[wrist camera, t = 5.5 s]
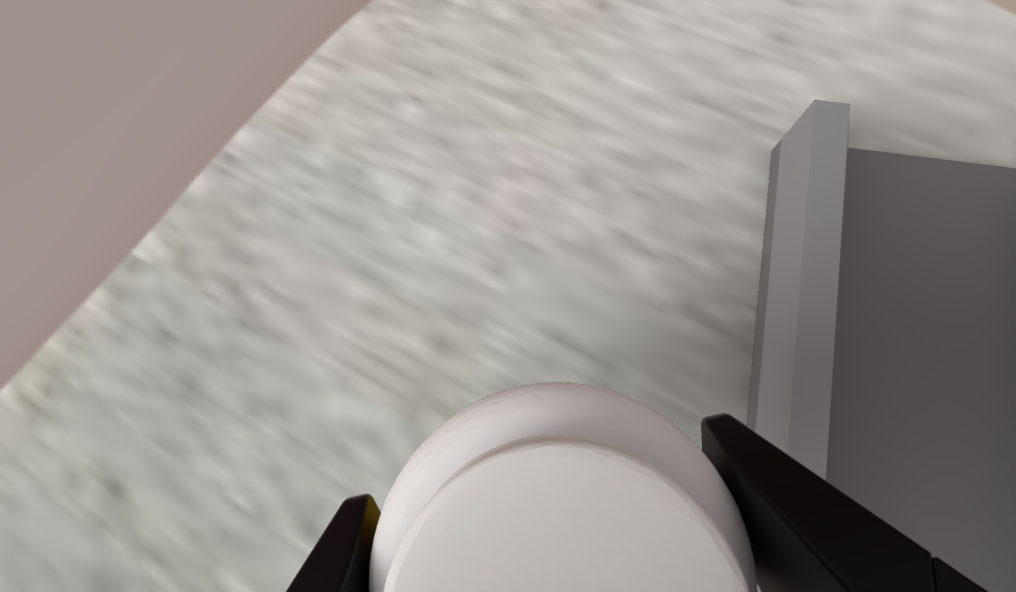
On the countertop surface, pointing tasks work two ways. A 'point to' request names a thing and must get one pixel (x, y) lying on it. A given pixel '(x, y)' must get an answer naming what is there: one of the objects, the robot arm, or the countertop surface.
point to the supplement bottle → (560, 503)
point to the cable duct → (894, 337)
